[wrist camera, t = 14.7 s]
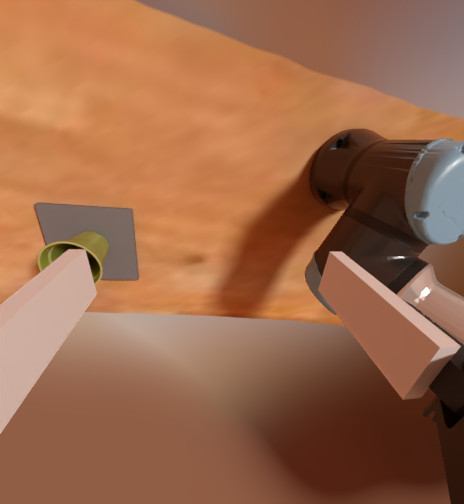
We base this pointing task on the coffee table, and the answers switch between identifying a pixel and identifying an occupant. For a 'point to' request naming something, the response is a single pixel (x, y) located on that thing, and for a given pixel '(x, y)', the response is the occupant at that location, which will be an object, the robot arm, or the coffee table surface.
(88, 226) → the mat
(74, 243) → the plant pot
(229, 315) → the coffee table surface
